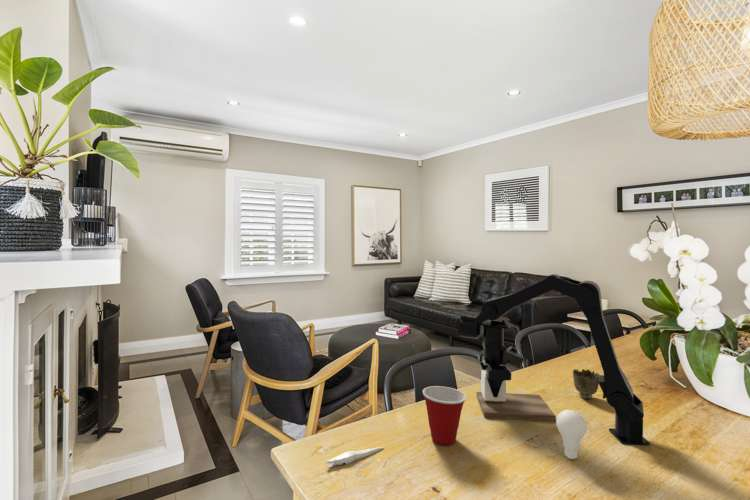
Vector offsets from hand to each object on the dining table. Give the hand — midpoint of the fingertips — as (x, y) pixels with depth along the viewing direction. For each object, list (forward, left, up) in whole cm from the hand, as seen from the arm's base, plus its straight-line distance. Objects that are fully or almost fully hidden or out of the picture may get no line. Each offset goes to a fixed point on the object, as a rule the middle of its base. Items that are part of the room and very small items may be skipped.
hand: (493, 392), depth 113 cm
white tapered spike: (-31, +36, -4) cm, 48 cm away
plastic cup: (-21, +16, -4) cm, 27 cm away
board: (-1, -5, -4) cm, 7 cm away
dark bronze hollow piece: (+9, -30, -4) cm, 31 cm away
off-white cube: (0, 0, -1) cm, 1 cm away
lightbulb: (-26, -12, -4) cm, 29 cm away
